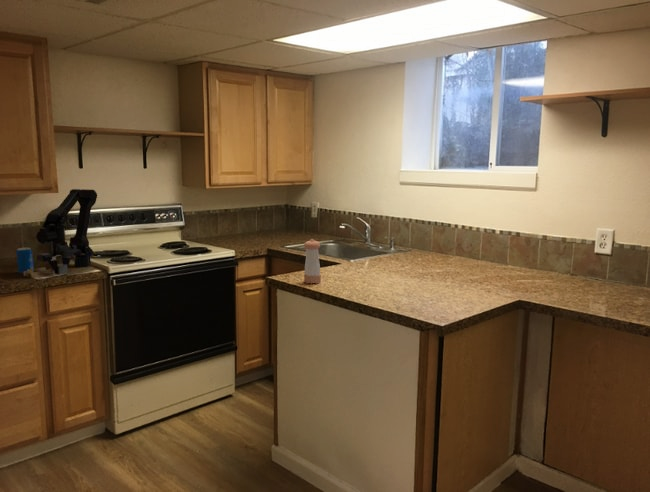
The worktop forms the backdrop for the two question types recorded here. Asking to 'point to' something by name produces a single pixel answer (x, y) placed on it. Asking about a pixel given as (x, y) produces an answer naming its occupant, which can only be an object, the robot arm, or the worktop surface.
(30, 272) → the brass knob strip
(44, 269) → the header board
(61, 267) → the block
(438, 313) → the worktop surface
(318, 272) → the pepper shaker
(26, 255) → the beverage can
